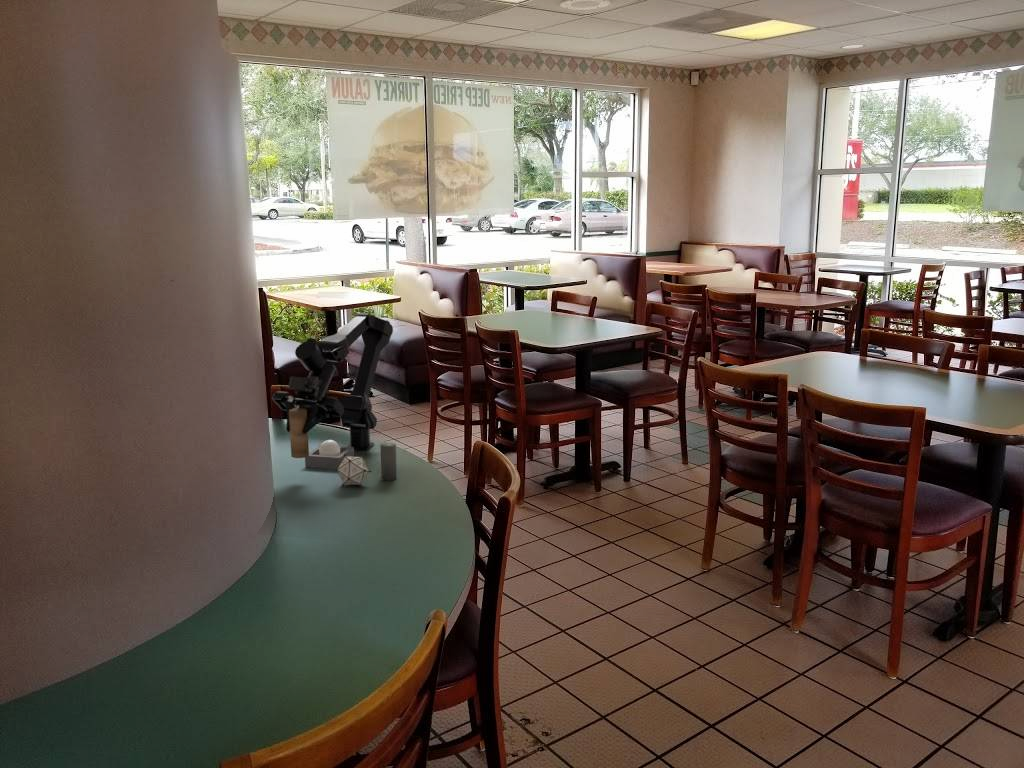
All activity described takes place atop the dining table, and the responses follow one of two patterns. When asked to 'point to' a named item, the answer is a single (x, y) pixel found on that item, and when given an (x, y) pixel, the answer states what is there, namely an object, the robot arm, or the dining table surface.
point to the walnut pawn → (298, 433)
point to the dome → (329, 448)
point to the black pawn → (388, 461)
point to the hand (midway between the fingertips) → (295, 432)
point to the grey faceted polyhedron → (353, 470)
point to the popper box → (327, 458)
